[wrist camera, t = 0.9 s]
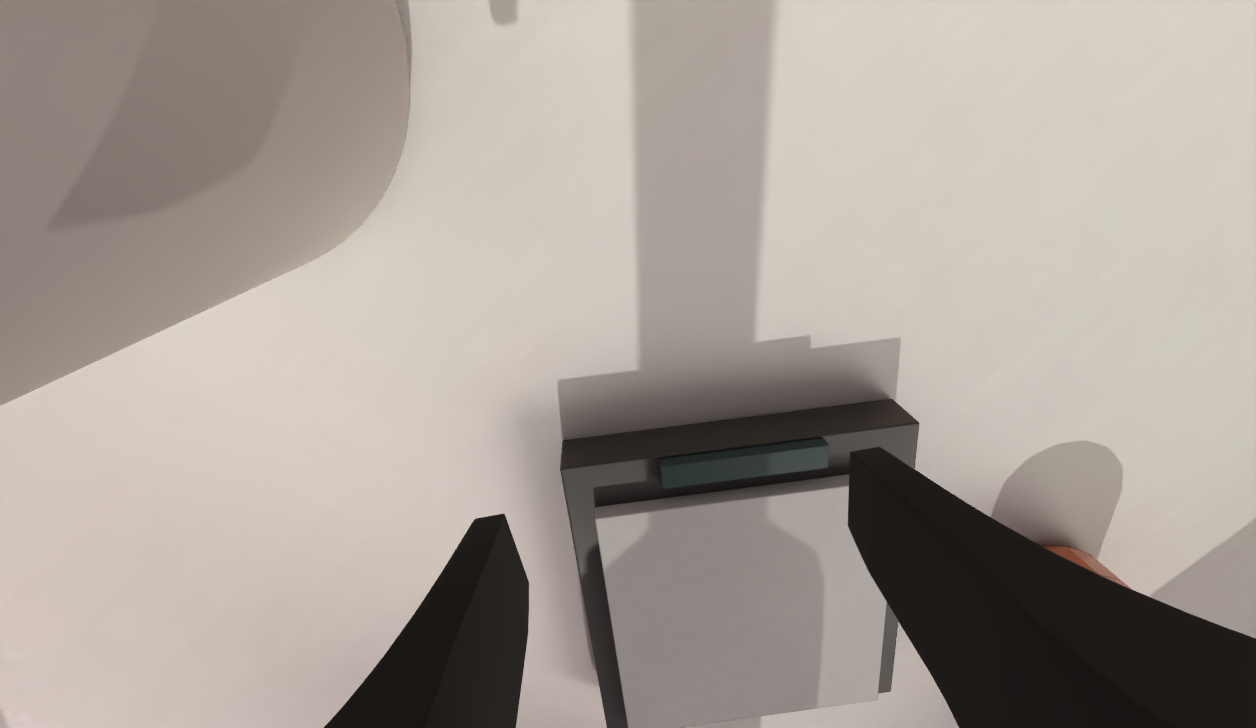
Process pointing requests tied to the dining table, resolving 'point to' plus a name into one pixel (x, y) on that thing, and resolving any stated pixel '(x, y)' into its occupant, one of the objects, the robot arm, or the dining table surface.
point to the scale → (731, 565)
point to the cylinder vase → (179, 159)
